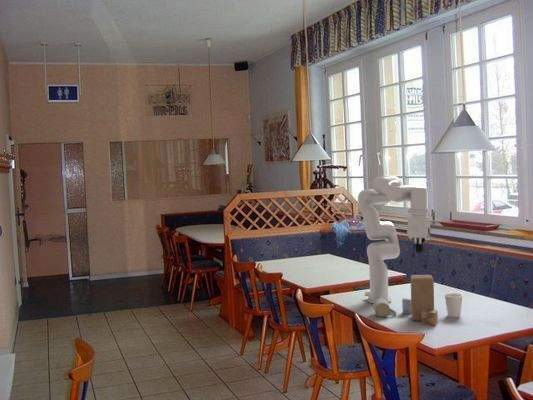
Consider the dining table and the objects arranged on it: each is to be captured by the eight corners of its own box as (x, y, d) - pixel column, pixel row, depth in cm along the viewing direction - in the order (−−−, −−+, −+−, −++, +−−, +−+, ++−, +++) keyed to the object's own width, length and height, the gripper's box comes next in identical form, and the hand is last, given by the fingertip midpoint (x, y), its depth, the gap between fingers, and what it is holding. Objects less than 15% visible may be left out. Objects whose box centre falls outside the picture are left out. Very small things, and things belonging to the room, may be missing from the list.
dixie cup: (441, 315, 287) (440, 294, 286) (455, 312, 290) (454, 292, 289) (453, 319, 279) (452, 297, 278) (467, 316, 282) (466, 295, 282)
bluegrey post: (400, 313, 293) (400, 299, 292) (406, 311, 296) (405, 297, 296) (409, 315, 289) (409, 300, 289) (415, 312, 293) (414, 298, 292)
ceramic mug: (375, 317, 286) (375, 301, 286) (373, 313, 294) (372, 298, 294) (397, 317, 286) (397, 301, 285) (394, 313, 294) (394, 297, 293)
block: (434, 321, 275) (433, 278, 274) (412, 321, 277) (411, 278, 276) (433, 316, 285) (432, 274, 284) (411, 315, 287) (410, 274, 286)
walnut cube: (421, 325, 271) (421, 312, 270) (424, 321, 276) (423, 309, 276) (435, 326, 268) (435, 313, 268) (437, 322, 274) (437, 309, 273)
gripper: (400, 213, 283) (401, 251, 285) (429, 214, 273) (429, 254, 274) (409, 211, 289) (409, 249, 290) (437, 213, 278) (437, 252, 279)
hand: (419, 251), depth 282 cm, fingers closed
